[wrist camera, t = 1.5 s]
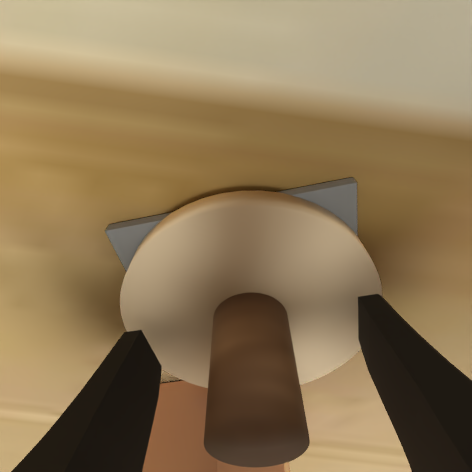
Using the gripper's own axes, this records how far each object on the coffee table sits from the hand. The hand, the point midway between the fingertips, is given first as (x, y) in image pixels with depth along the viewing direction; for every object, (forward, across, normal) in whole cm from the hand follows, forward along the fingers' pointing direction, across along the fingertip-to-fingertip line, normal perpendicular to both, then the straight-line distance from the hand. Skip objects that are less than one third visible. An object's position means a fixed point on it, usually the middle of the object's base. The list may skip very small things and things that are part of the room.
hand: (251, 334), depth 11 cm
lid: (+2, 0, 0) cm, 2 cm away
